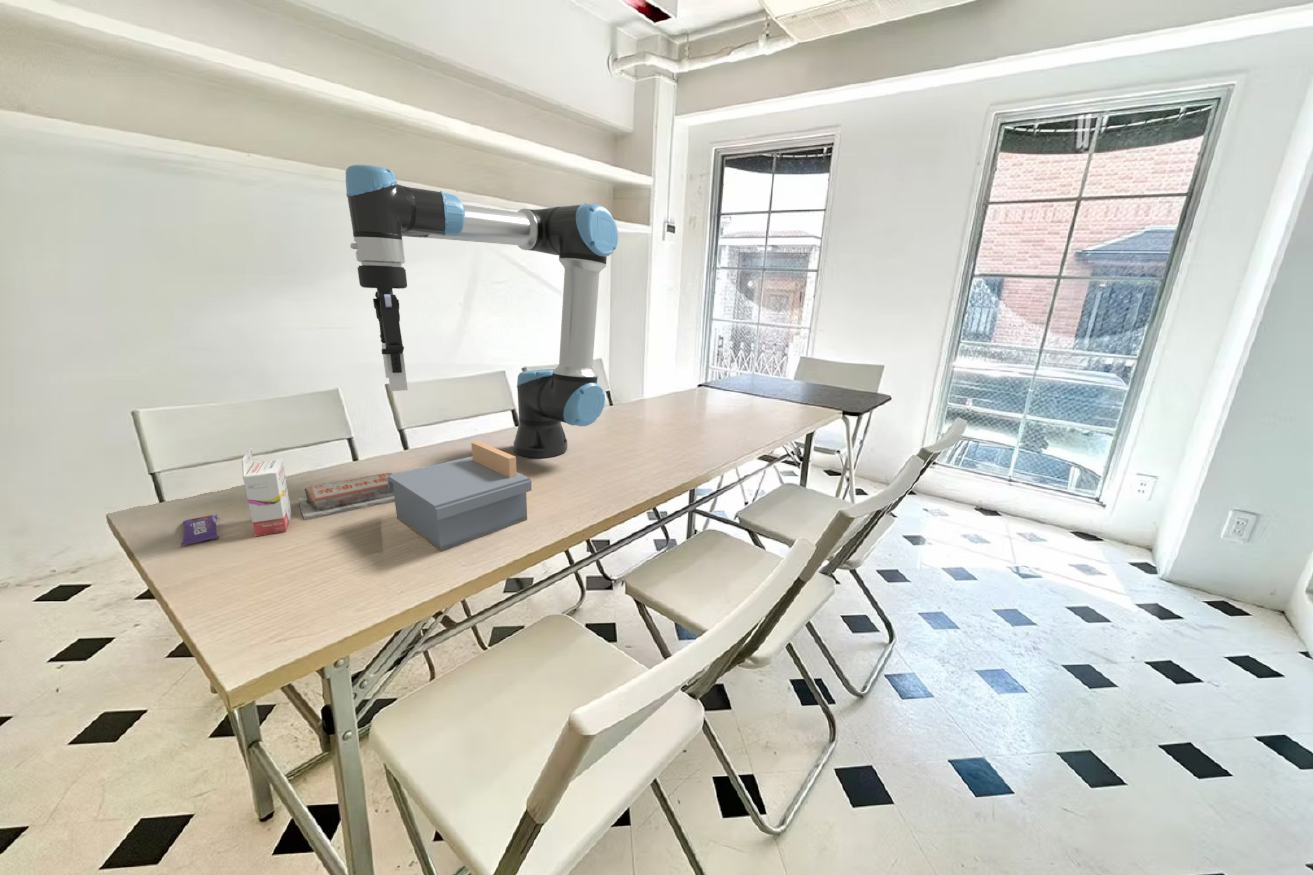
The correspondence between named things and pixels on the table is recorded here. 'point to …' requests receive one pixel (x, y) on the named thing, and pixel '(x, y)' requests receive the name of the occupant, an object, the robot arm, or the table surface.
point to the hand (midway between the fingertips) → (396, 383)
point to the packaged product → (345, 496)
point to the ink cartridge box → (266, 494)
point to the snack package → (199, 529)
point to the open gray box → (458, 519)
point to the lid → (464, 481)
